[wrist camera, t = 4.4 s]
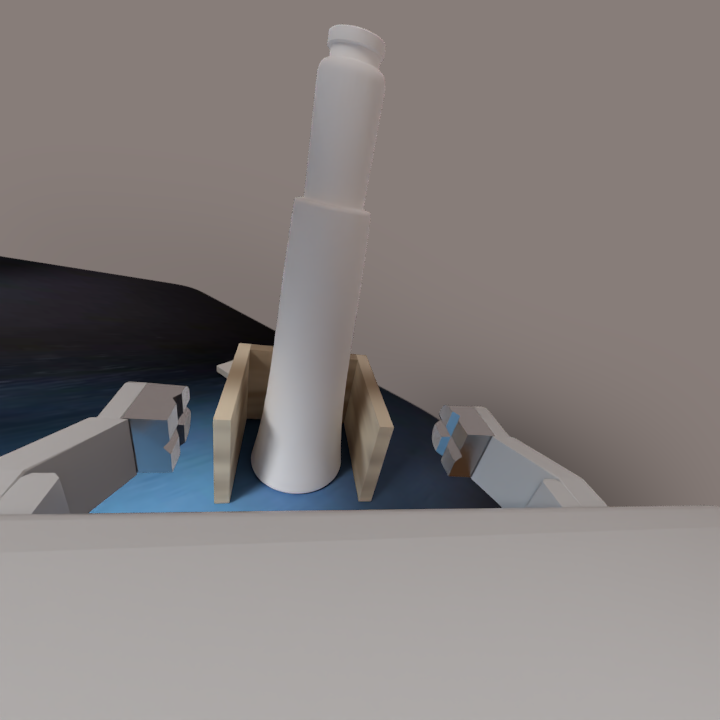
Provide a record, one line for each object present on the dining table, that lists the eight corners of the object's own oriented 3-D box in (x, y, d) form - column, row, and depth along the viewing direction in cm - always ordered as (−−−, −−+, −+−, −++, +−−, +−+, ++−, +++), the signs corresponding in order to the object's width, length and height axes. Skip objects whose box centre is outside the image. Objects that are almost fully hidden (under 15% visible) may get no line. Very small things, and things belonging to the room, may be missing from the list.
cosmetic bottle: (281, 419, 26) (320, 60, 16) (352, 447, 24) (443, 76, 14) (230, 471, 20) (240, -18, 10) (317, 510, 19) (422, -2, 9)
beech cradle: (370, 501, 21) (393, 427, 18) (214, 503, 18) (212, 419, 16) (351, 417, 28) (366, 355, 25) (237, 411, 26) (239, 343, 23)
